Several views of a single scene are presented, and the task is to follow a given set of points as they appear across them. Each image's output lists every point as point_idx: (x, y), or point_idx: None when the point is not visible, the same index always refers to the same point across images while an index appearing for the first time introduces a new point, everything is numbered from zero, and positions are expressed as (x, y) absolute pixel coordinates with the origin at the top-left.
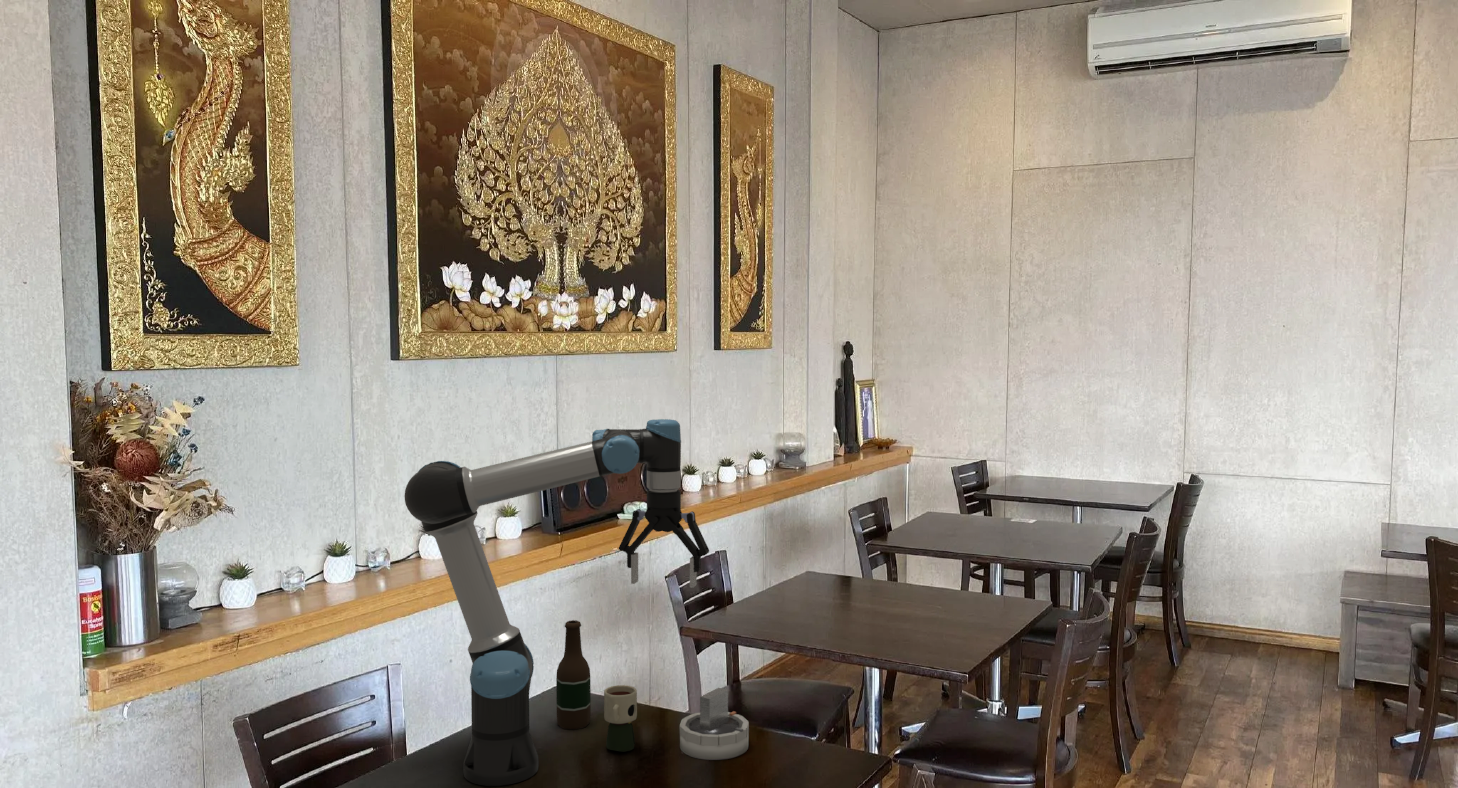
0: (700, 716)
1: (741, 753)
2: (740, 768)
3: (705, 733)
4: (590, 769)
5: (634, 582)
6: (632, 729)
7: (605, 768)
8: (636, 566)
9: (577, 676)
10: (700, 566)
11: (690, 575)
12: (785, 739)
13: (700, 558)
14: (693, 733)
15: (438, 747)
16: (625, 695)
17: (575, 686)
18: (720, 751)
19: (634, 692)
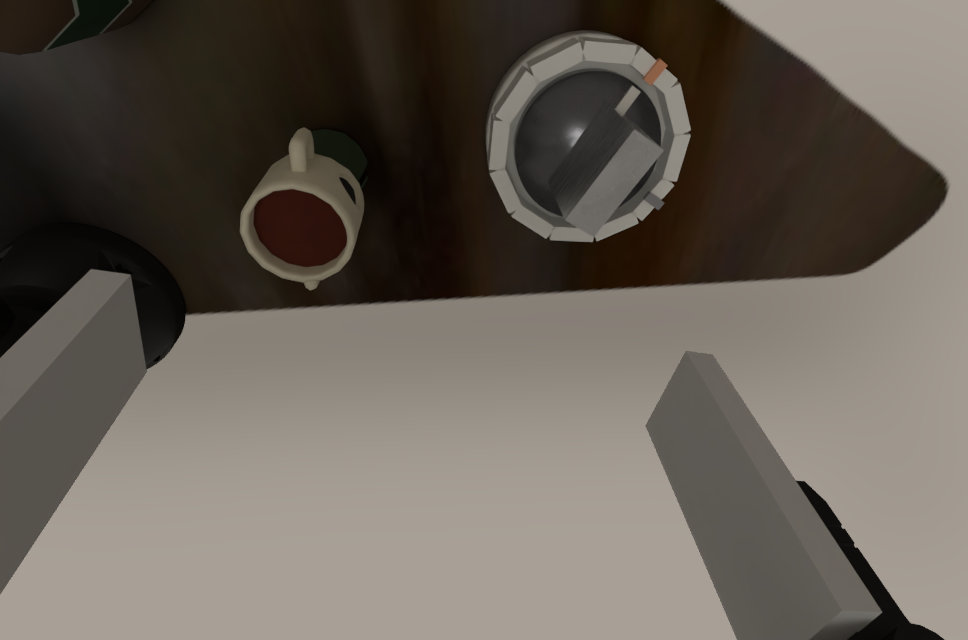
0: (554, 195)
1: None
2: (625, 254)
3: (561, 214)
4: None
5: (141, 377)
6: (351, 163)
7: None
8: (42, 443)
9: (36, 43)
10: (834, 529)
11: (685, 508)
12: (774, 76)
13: (893, 623)
14: (529, 225)
15: None
16: (329, 274)
17: (55, 43)
18: None
19: (351, 249)
